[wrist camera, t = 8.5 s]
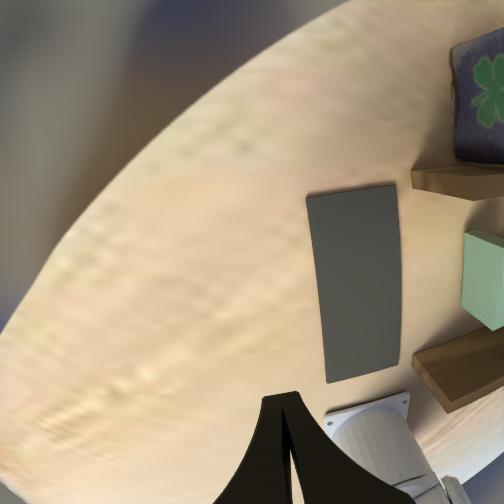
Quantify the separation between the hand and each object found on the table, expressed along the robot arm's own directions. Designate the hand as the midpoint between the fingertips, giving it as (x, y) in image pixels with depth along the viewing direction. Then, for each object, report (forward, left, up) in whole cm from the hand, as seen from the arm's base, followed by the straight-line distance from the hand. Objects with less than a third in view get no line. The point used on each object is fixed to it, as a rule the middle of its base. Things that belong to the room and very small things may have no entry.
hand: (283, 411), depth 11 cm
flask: (+12, -17, -10) cm, 23 cm away
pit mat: (0, -7, -10) cm, 12 cm away
